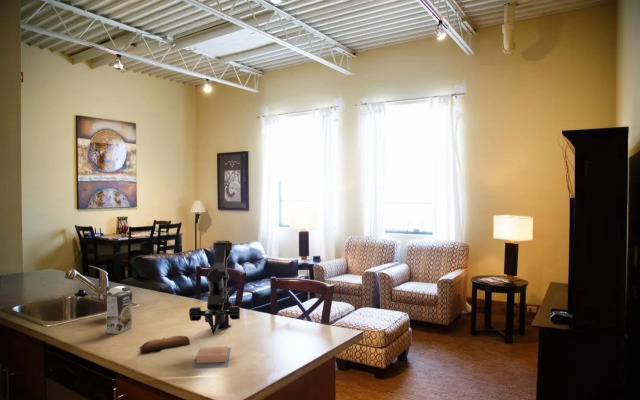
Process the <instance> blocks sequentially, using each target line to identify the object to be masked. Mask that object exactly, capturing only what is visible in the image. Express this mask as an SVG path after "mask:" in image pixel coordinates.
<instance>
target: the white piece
mask: <svg viewBox="0 0 640 400" xmlns="http://www.w3.org/2000/svg"><path fill="white" fill-rule="evenodd" d="M130 290H131V287H130V286H123V285H118V286H115V285H114V284H113V285H108V286H106V288H105V291H106V292H107V293H106V295H105V298H106V301H107V296H109V295H112V294H115V293H119V292H130ZM105 319H106V320H107V316H105Z"/></svg>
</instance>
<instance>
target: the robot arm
mask: <svg viewBox="0 0 640 400" xmlns="http://www.w3.org/2000/svg"><path fill="white" fill-rule="evenodd" d="M212 251H214V255H215V258H214V264H213V265H212V266H211V267H210V270H209V272H208V273H207V277H206V281H207V283H208V289H209V292H208V293H209V294H208V295H207V301H206V302H207V305H206V308H207V309H205V310H202V309H201V308H202V307H199V306H198V307H197V306H196V307H190V309H188V310H189V311H188V315H189V320H190V321H191V322H199V321H201V320H202V317H204V321H205V323H208V324H209V327H210V331H211V334H212V335H213V336H214V335H215V334H216V333H217V331H218V330H223V329H227V328H231V327H232V324H230V319H231V320H233V321H235V320H240V318H241V307H240V306H238V305H237V306H235V305H234V306H233V302H232V301H231V300H230V295H229V294H228V292H227V282H228V280H229V279H230V275H229V272H228V259H229V258H230V256H231V253H232V251H233V242H231V240H216V242H213V244H212Z"/></svg>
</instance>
